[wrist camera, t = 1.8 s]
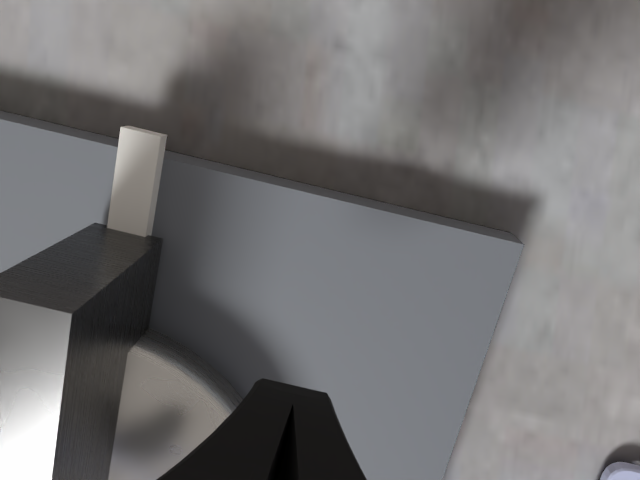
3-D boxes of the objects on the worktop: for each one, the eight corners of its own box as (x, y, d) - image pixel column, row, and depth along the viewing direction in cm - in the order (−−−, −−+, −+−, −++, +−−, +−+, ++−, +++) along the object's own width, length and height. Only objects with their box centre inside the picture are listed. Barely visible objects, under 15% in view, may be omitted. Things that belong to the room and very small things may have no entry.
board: (517, 212, 15) (538, 227, 14) (340, 736, 21) (339, 792, 19) (-202, 39, 15) (-269, 33, 13) (-191, 620, 20) (-238, 666, 19)
